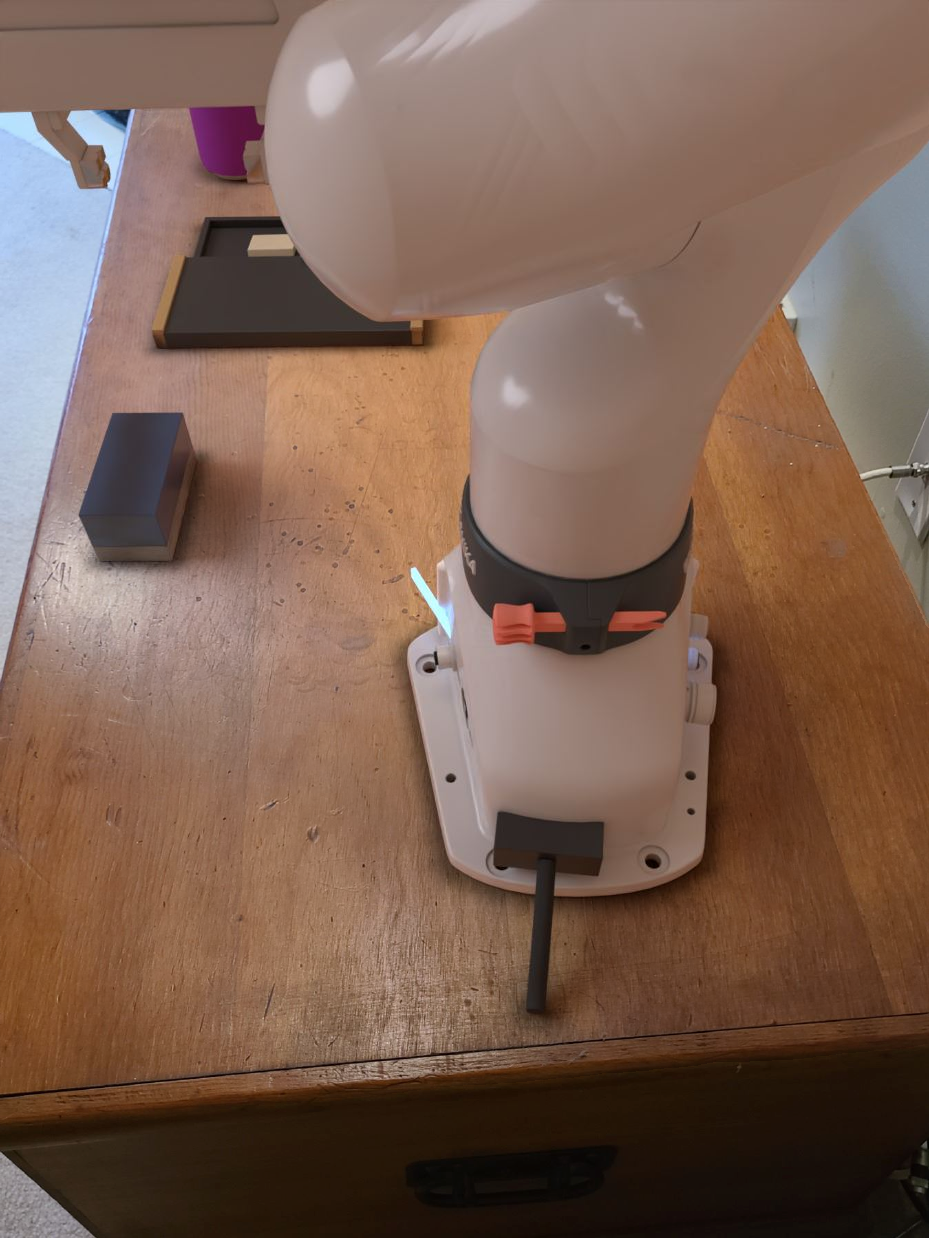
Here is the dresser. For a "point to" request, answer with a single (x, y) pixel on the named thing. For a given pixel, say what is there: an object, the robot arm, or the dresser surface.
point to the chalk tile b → (271, 246)
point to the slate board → (263, 308)
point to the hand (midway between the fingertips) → (179, 182)
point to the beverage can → (225, 138)
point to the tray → (235, 234)
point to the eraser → (139, 487)
